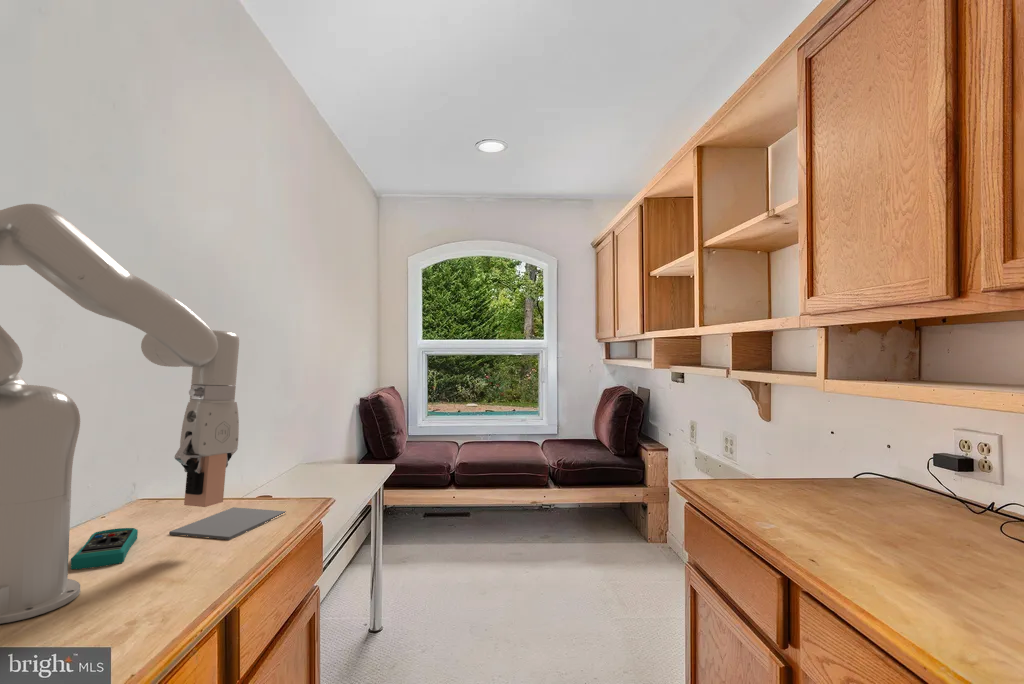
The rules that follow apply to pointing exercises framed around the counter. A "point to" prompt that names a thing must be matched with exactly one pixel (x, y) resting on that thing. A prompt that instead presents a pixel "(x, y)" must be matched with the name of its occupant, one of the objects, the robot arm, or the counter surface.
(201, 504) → the block
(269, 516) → the mat
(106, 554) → the digital multimeter
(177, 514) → the counter surface
